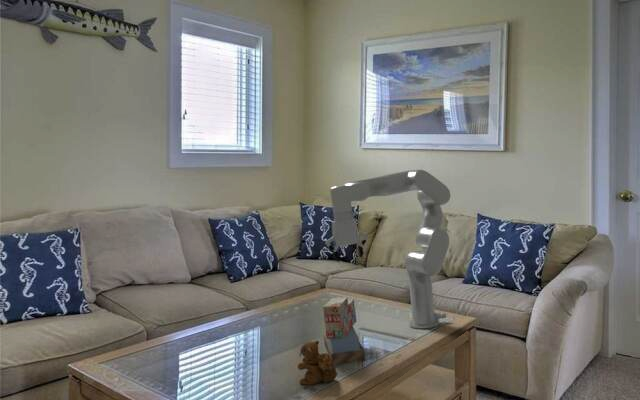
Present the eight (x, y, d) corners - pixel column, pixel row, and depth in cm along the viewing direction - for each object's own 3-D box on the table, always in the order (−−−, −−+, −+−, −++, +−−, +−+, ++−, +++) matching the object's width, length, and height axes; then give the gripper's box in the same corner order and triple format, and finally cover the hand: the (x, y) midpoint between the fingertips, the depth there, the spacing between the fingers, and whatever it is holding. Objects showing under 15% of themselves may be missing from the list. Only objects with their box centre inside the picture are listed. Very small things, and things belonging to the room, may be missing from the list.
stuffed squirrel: (311, 373, 200) (307, 336, 199) (345, 377, 192) (341, 339, 191) (294, 383, 192) (290, 345, 191) (330, 389, 184) (325, 349, 183)
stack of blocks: (341, 322, 230) (338, 292, 229) (356, 321, 228) (353, 291, 227) (326, 338, 210) (322, 305, 209) (342, 338, 208) (339, 305, 207)
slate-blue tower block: (351, 332, 230) (350, 321, 229) (359, 350, 207) (358, 337, 206) (326, 335, 229) (325, 324, 229) (332, 353, 206) (331, 341, 206)
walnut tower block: (354, 342, 231) (352, 331, 231) (365, 362, 207) (364, 350, 206) (324, 346, 230) (323, 335, 230) (332, 366, 205) (331, 354, 205)
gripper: (361, 212, 231) (367, 254, 232) (320, 219, 228) (326, 261, 229) (366, 213, 224) (372, 256, 225) (324, 220, 221) (330, 264, 222)
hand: (349, 258), depth 227 cm, fingers open, 9 cm apart
